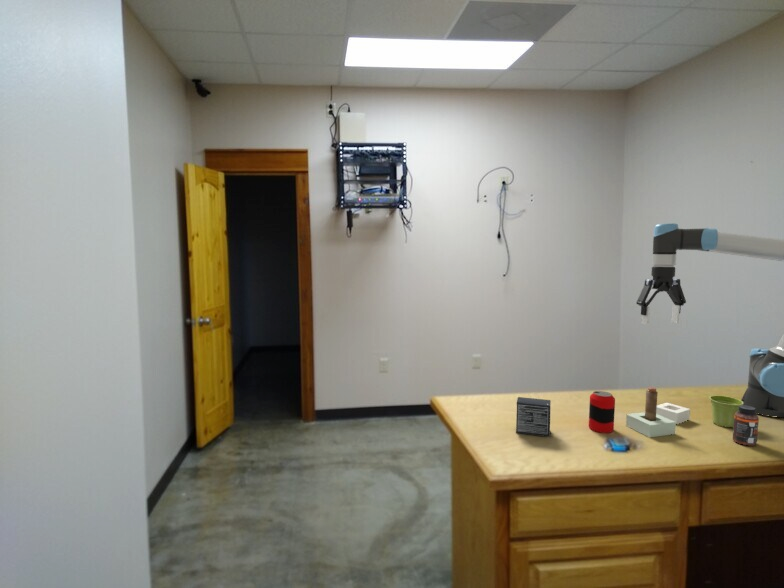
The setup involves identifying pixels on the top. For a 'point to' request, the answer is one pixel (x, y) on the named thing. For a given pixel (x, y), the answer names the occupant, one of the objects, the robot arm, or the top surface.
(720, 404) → the plant pot
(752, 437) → the supplement bottle
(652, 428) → the pale open box
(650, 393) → the brown cylinder
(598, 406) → the soda can
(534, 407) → the small box
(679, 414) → the white hollow block
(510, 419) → the top surface
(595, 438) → the top surface
